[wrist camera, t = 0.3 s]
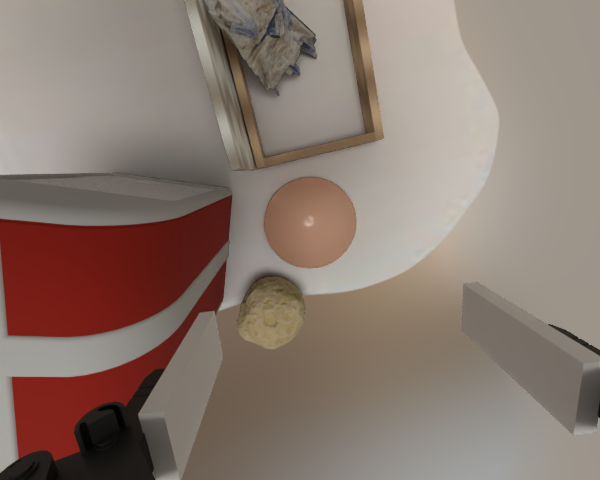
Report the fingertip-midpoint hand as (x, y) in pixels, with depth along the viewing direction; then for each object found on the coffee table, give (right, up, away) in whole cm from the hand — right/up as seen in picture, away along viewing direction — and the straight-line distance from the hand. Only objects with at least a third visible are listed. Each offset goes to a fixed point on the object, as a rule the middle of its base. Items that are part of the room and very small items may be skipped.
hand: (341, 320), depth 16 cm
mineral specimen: (-3, +28, +23) cm, 37 cm away
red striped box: (-21, +4, +27) cm, 34 cm away
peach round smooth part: (-1, +7, +27) cm, 28 cm away
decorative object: (-6, -8, +31) cm, 32 cm away
